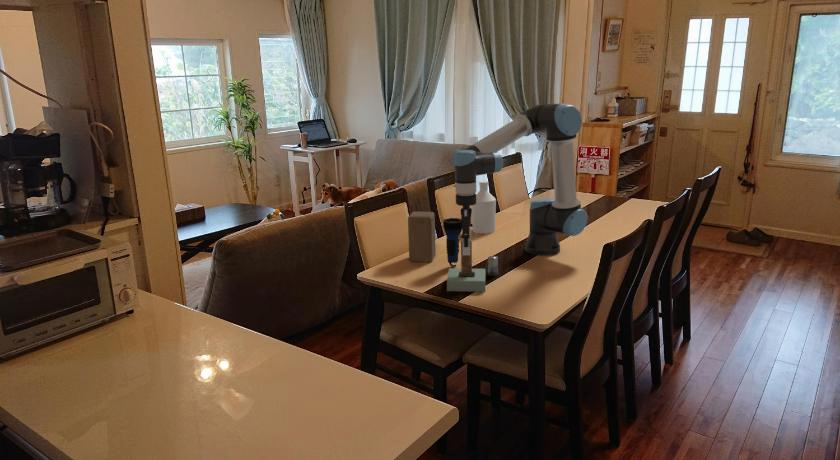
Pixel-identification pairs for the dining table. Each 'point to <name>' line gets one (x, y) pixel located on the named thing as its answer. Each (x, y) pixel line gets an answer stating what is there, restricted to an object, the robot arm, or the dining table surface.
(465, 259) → the long pin
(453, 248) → the flashlight
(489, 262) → the short pin
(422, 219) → the wooden block
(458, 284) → the collar block
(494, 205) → the bottle
